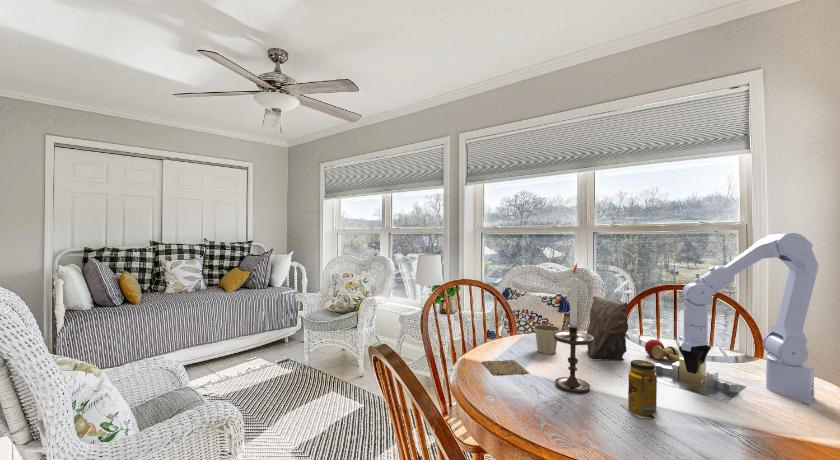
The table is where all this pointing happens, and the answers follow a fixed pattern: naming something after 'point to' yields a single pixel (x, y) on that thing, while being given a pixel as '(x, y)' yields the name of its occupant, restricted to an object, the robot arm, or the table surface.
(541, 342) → the flower pot
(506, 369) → the brown stone coaster
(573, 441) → the table surface
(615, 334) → the brown rock block
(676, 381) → the shaft base
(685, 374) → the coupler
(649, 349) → the kendama
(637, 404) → the condiment
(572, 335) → the candlestick
